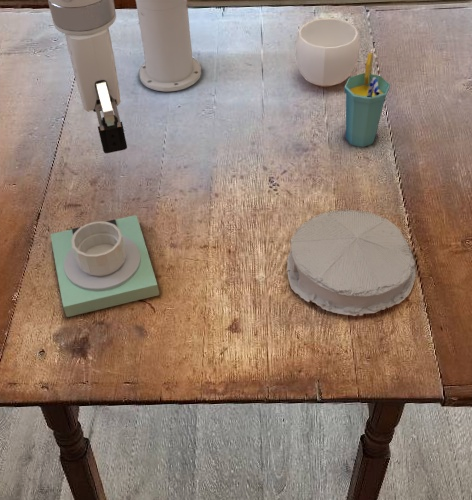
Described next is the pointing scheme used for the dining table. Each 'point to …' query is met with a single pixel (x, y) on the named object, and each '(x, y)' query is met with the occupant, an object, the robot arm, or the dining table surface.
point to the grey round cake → (350, 262)
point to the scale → (108, 286)
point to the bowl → (99, 248)
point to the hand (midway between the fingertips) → (109, 129)
